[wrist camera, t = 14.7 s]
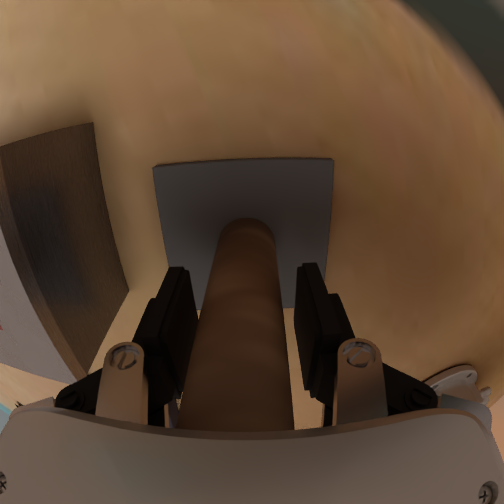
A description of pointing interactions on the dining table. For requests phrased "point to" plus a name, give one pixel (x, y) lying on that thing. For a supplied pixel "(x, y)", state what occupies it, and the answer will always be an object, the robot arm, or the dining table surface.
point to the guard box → (55, 255)
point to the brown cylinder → (240, 340)
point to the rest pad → (245, 212)
